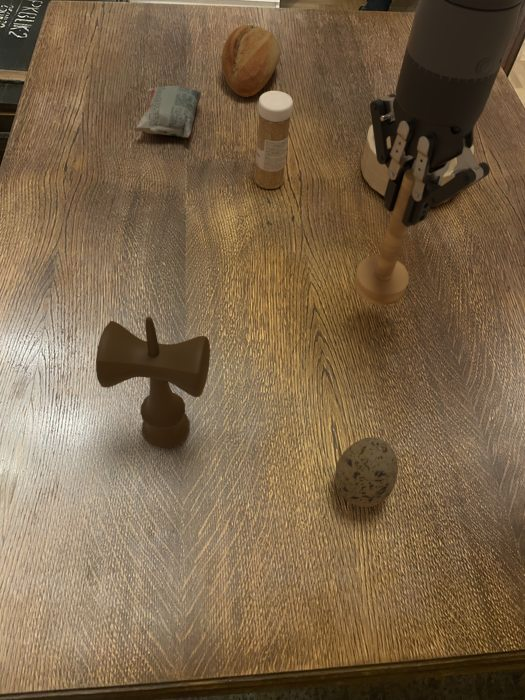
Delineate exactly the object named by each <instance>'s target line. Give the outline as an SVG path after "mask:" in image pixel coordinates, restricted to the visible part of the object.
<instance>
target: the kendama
mask: <svg viewBox="0 0 525 700" xmlns="http://www.w3.org/2000/svg"><path fill="white" fill-rule="evenodd" d="M145 337H146V340H143V339H142V338H140V337H138V336H137V335H135V334H134V333H132V332H131V331H130V330H128V329H127V328H126V327H125V326H123V325H122V324H120V323H119V322H117V321H114V320H110V321H109V322H108V323H107V325H105V327H104V328H103V331H102V333H101V335H100V338H99V341H98V345H97V351H96V357H95V373H96V379H97V382H98V384H99V385H100V387H101V388H105V389H107V388H111V387H114V386H117V385H120V384H121V383H123V382H125V381H128V380H131V379H133V378H148V379H149V393H148V395H147V396H145V398H143V400H142V403H141V405H140V414H139V415H140V416H141V419H142V423H141V434H142V436H143V440H144V441H145V442H146V443H148V444H149V445H150V446H152V447H154V448H158V449H173V448H176V447H179V446H181V444H183V443H184V442H185V440H186V439H187V438H188V434H189V432H190V423H191V422H190V419H189V417H188V414H187V413H186V404H185V402H184V399H183V397H181V396H180V395H179V394H177V393H175V392H173V391H172V388H171V386H170V384H171V385H173V386H175V387H176V388H178V389H179V390H181V391H183V392H185V393H186V394H188V395H189V396H191V397H194V398H200V397H201V396H202V395H203V392H204V391H205V387H206V383H207V381H208V374H209V368H210V360H211V345H210V340H209V338H208V336H205V335H199V336H196V337H192V338H189V339H187V340H184V341H181V342H178V343H171V344H170V343H168V344H167V343H160V342H159V340H158V336H157V332H156V326H155V323H154V320H153V318H152V317H150V316H147V317H145Z"/></svg>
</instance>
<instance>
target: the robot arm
mask: <svg viewBox="0 0 525 700" xmlns="http://www.w3.org/2000/svg"><path fill="white" fill-rule="evenodd" d="M523 1H524V0H419V1H418V3H417V5H416V9H415V13H414V16H413V20H412V23H411V27H410V32H409V35H408V40H407V43H406V46H405V51H404V55H403V58H402V63H401V67H400V71H399V74H398V78H397V82H396V87H395V93H391V94H388V95H384V96H382V97H379V98H377V99H375V100H372V101H371V102H370V104H369V109H370V118H371V125H373V133H374V141H375V148H376V156H377V161H378V162H379V163H380V164H381V165H383V164H385V165H386V166H387V168H388V171H387V174H388V177H389V181H388V184H387V188H386V191H385V195H384V196H383V198H384V209H386V210H387V212H389V213H391V212H393V210H394V206H395V203H396V200H397V196H398V193H399V190H400V187H401V183H402V180H403V177H404V174H405V172H406V171H407V170H409V169H414V171H413V176H414V177H415V182H414V186H413V191H412V195H411V196H410V197H409V200H408V203H407V206H406V209H405V213H404V216H403V219H402V223H403V224H404V225H405V226H406V227H408V228H409V227H411V226H415V225H417V224H419V223H421V222H424V221H425V220H426V219H427V217H428V213H429V210H430V208H435V207H437V206H439V205H441V204H443V202H444V203H446V202H448V201H450V200H451V199H454V198H455V197H456V196H458V195H460V194H462V193H463V192H464V191H465V190H467V189H469V188H470V187H472V186H473V185H475V184H477V183H478V182H479V181H481V180H482V179H485V177H487V176H488V175H489V174H490V171H491V169H490V166H489V165H488V163H487V162H485V161H482V162H479V163H478V161H477V159H476V156H475V154H474V155H473V153H472V151H471V147H472V145H473V146H474V129H475V126H476V124H477V122H478V120H479V119H480V117H481V116H482V114H483V112H484V110H485V107H486V106H487V103H488V100H489V98H490V95H491V92H492V90H493V88H494V84H495V82H496V79H497V78H498V75H499V72H500V70H501V67H502V64H503V63H504V60H505V57H506V54H507V52H508V49H509V46H510V44H511V42H512V40H513V36H514V33H515V30H516V27H517V24H518V20H519V16H520V12H521V7H522V5H523V3H524V2H523ZM389 136H390V142H391V148H389V149H388V148H387V138H388V137H389ZM454 158H457V165H456V166H455V168H454V172H452V173H451V177H452V179H451V180H450V181H448V182H447V183H445V184H444V185H442V186H441V182H442V179H443V175H444V174H445V173H446V172H447V170H448V169H449V165H450V162H451V160H452V159H454ZM447 200H448V201H447ZM445 201H446V202H445Z"/></svg>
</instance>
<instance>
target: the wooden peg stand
mask: <svg viewBox="0 0 525 700" xmlns="http://www.w3.org/2000/svg"><path fill="white" fill-rule="evenodd" d="M413 171H414V169H409V170H407V171H406V172H405V174H404V177H403V180H402V183H401V187H400V190H399V193H398V196H397V200H396V203H395V206H394V210H393V211H392V213H391V217H390V219H389V223H388V227H387V230H386V233H385V237H384V240H383V241H382V242H383V243H382V246H381V249H380V253H379V254H376V255H370V256H368V257H365V258H363V260H361V261H360V262H359V264H358V266H357V268H356V272H355V275H354V279H353V286H354V289H355V291H356V293H357V294H358V295H359V297H361V299H363V300H364V301H366V302H367V303H370V304H372V305H377V306H390V305H393V304H396V303H398V302H399V301H401V299H402V298H403V296H405V293H406V290H407V287H408V285H409V282H410V275H409V272H408V269H407V268H406V267H405V265H404V264H403V263H401V261H399V260H398V259H399V256H400V254H401V250H402V247H403V245H404V242H405V238H406V236H407V233H408V230H409V227H406V226H405V225H404V224H403V223H402V219H403V216H404V213H405V209H406V206H407V203H408V200H409V197H410V196H411V195H412V191H413V186H414V182H415V177H414V176H413Z"/></svg>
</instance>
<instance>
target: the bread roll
mask: <svg viewBox="0 0 525 700" xmlns="http://www.w3.org/2000/svg"><path fill="white" fill-rule="evenodd" d="M281 54H282V53H281V46H280V43H279V41H278V39H277V38H276V36H275V35H274V33H273V32H272V31H269V30H267V29H265V28H263V27H260V26H254V25H253V24H250V25H249V24H242V25H240V26H238V27H236V28H235V29H234V30H232V31H231V33H230V34H229V36H228V37H227V38H226V41H225V42H224V45H223V48H222V51H221V59H220V60H221V69H222V72H223V75H224V77H225V80H226V83H227V85H228V86H229V88H230V89H231V90H232V91H233V92H234V93H235V94H237V95H238V96H240V97H243V98H246V97H247V98H249V97H251V96H255V95H256V94H257V93H259V92H260V91H261V90H262V89H263V88H264V87H265V86H266V85H267V83H268V82H269V80H270V79H271V77H272V75H273V73H274V72H275V71H276V68H277V67H278V64H279V63H280V59H281Z"/></svg>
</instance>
